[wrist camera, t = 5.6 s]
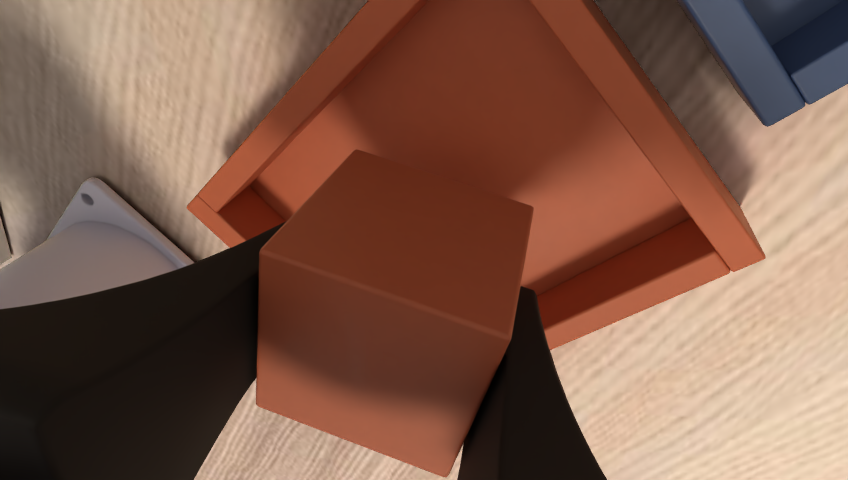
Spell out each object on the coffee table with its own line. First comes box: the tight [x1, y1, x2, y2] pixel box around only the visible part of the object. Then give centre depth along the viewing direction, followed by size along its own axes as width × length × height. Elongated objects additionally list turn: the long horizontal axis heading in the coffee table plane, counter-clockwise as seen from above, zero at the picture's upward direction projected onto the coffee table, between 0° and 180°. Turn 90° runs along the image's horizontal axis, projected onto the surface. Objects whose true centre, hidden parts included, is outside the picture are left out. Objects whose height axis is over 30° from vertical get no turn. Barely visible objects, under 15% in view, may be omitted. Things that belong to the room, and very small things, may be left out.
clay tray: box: [187, 0, 765, 350], centre depth 15 cm, size 13×11×2 cm
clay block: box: [256, 150, 534, 477], centre depth 11 cm, size 4×4×4 cm
